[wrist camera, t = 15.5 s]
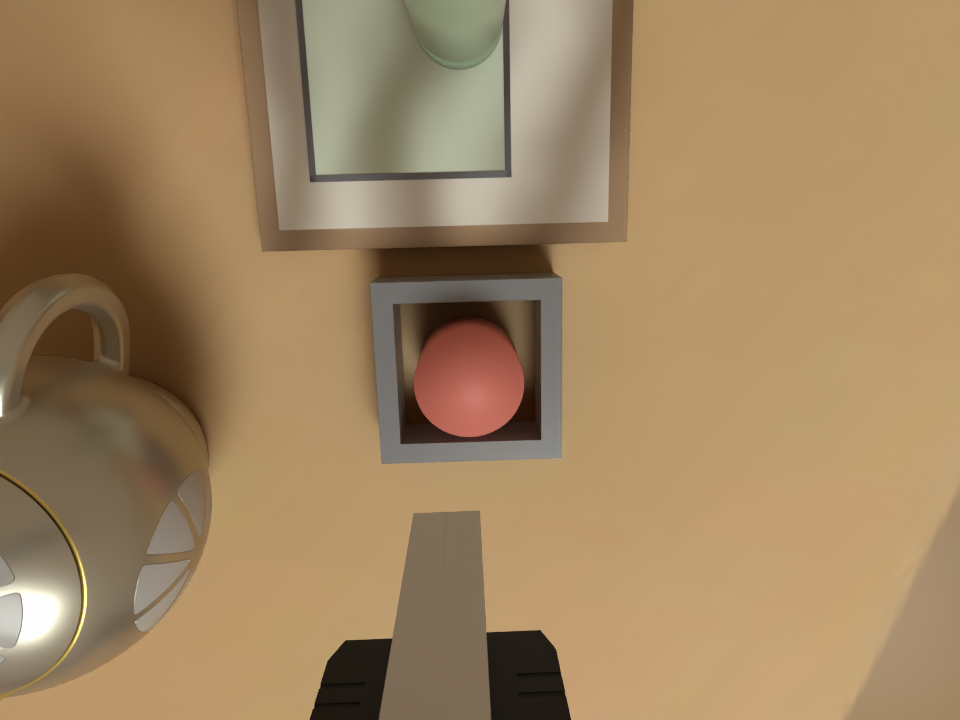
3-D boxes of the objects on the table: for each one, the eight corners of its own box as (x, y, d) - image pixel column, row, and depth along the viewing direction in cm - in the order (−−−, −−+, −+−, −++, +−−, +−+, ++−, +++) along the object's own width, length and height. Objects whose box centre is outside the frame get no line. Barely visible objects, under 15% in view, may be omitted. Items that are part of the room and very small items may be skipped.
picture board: (268, 250, 32) (260, 251, 30) (232, -111, 28) (221, -126, 27) (621, 241, 32) (628, 242, 31) (630, -118, 28) (638, -134, 27)
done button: (422, 412, 33) (416, 438, 29) (418, 317, 32) (410, 332, 28) (517, 409, 33) (524, 435, 29) (516, 314, 32) (523, 328, 28)
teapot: (233, 595, 36) (47, 897, 20) (-9, 543, 35) (-408, 816, 19) (293, 294, 32) (122, 369, 16) (23, 225, 31) (-442, 234, 15)
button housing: (388, 442, 34) (381, 463, 31) (378, 277, 32) (369, 283, 29) (553, 437, 34) (561, 458, 31) (553, 272, 32) (562, 278, 29)
